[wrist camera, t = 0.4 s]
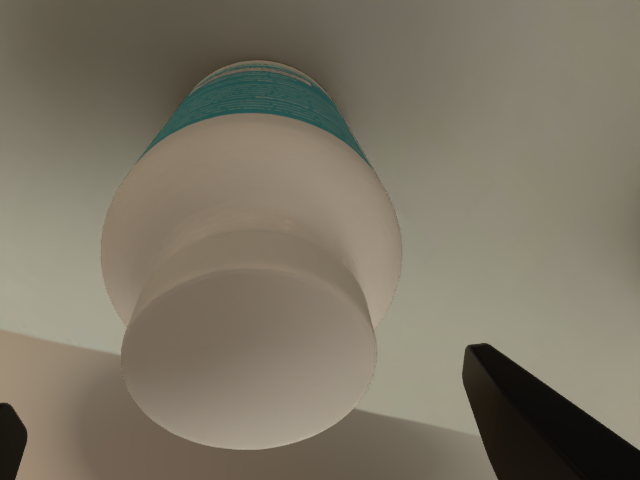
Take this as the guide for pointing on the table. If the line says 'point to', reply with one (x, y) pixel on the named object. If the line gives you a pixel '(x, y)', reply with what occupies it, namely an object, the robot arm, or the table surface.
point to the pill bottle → (251, 263)
